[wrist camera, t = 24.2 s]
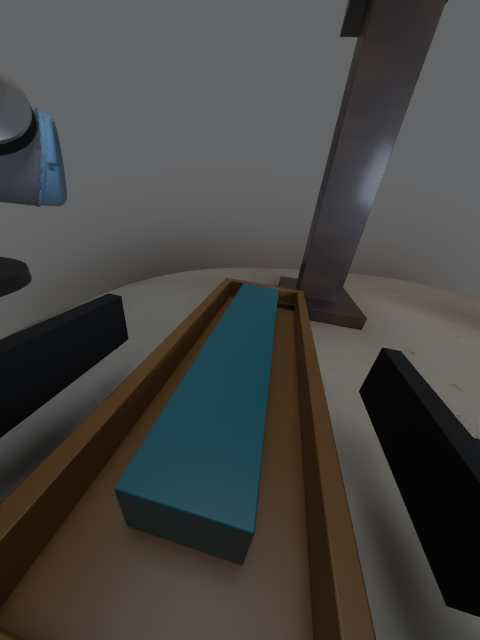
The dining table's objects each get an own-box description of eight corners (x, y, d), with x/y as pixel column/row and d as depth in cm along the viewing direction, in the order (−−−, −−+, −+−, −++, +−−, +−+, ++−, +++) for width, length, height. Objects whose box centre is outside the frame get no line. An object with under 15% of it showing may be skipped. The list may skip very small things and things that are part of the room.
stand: (275, 313, 25) (383, -197, 11) (278, 284, 35) (336, 7, 21) (362, 329, 23) (613, -226, 9) (339, 294, 34) (442, 6, 20)
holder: (-66, 675, 5) (-160, 662, 4) (224, 298, 27) (226, 277, 26) (360, 902, 4) (457, 1016, 2) (297, 311, 26) (303, 290, 25)
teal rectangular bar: (125, 525, 7) (112, 489, 6) (240, 303, 24) (243, 282, 23) (243, 566, 6) (255, 534, 5) (274, 309, 24) (278, 289, 23)
